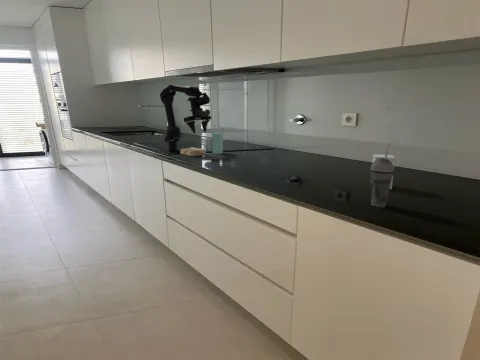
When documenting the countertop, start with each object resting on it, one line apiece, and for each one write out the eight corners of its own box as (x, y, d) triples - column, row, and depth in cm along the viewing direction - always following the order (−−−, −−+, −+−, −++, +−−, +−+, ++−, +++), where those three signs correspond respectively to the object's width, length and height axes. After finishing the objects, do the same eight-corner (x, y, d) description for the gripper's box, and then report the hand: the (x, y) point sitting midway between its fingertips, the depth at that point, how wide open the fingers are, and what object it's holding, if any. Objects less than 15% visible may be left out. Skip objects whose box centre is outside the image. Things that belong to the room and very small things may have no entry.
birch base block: (180, 153, 214) (180, 148, 213) (193, 151, 220) (192, 147, 220) (192, 156, 204) (192, 151, 203) (205, 154, 210) (205, 149, 210)
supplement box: (371, 188, 129) (374, 156, 126) (370, 184, 136) (373, 153, 133) (392, 190, 127) (395, 157, 124) (389, 185, 134) (393, 154, 131)
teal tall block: (212, 153, 214) (212, 133, 211) (215, 152, 219) (215, 132, 216) (220, 153, 213) (219, 133, 210) (222, 152, 217) (222, 132, 214)
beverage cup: (365, 201, 113) (371, 142, 108) (388, 203, 111) (395, 143, 106) (367, 207, 106) (373, 145, 102) (391, 209, 104) (399, 146, 100)
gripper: (193, 104, 192) (198, 131, 194) (215, 104, 206) (219, 129, 208) (180, 108, 199) (185, 134, 201) (203, 108, 213) (207, 132, 215)
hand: (200, 132), depth 206 cm, fingers open, 9 cm apart
